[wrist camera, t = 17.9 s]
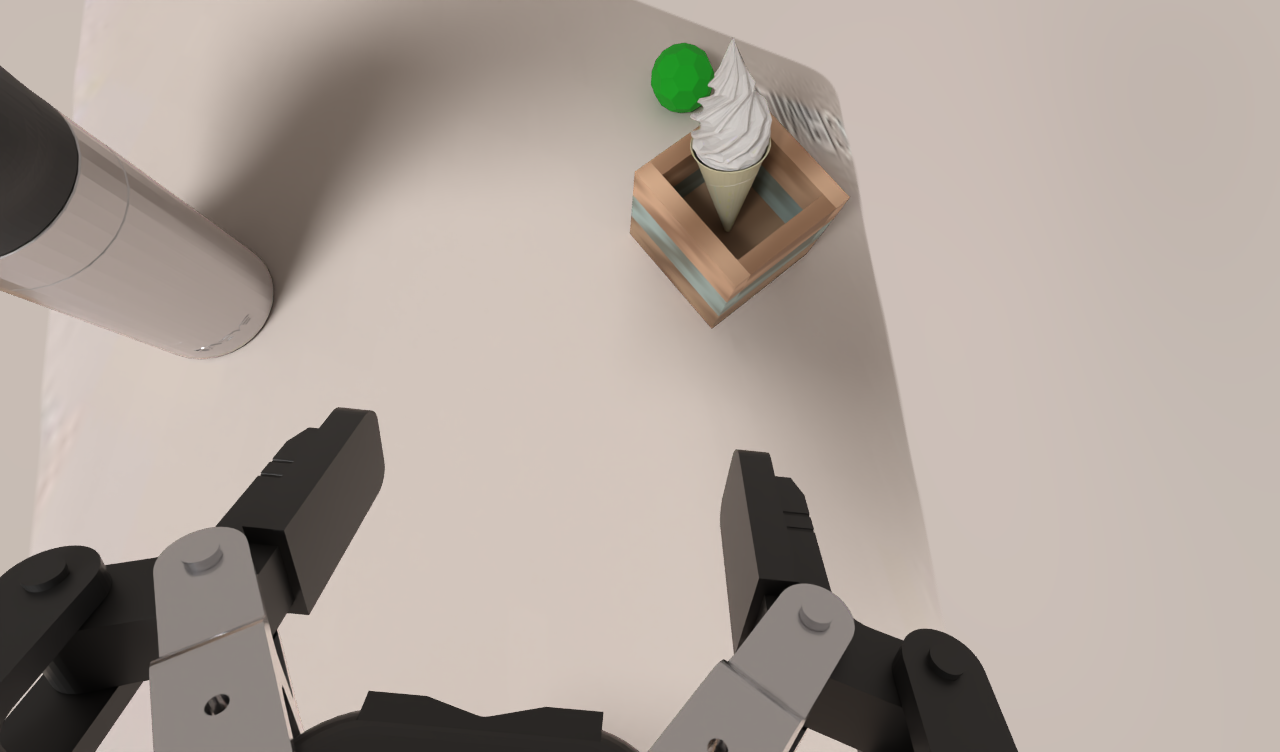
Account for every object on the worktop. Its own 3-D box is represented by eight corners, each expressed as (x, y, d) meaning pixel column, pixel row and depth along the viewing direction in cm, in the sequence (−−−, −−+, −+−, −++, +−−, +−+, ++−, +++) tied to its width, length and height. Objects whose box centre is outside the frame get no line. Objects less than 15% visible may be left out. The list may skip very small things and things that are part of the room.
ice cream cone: (754, 198, 46) (770, 1, 33) (768, 250, 44) (791, 60, 31) (689, 208, 47) (679, 17, 33) (699, 261, 44) (693, 77, 31)
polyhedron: (659, 65, 52) (664, 21, 47) (715, 82, 52) (725, 40, 47) (642, 114, 51) (646, 74, 46) (699, 132, 51) (708, 93, 46)
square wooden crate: (630, 233, 48) (634, 171, 39) (724, 164, 50) (749, 90, 41) (711, 328, 47) (735, 286, 38) (806, 254, 49) (849, 197, 40)
